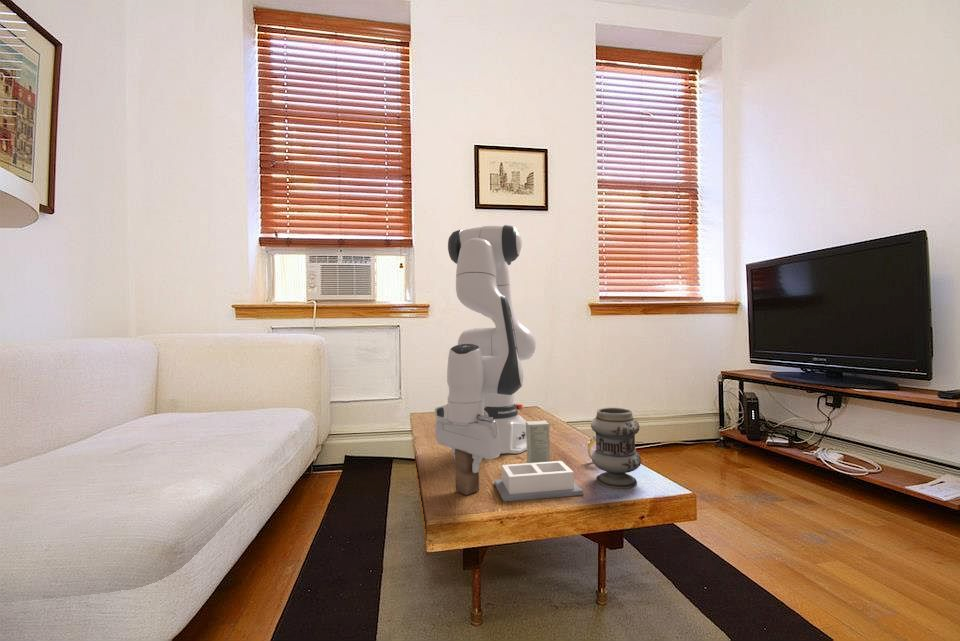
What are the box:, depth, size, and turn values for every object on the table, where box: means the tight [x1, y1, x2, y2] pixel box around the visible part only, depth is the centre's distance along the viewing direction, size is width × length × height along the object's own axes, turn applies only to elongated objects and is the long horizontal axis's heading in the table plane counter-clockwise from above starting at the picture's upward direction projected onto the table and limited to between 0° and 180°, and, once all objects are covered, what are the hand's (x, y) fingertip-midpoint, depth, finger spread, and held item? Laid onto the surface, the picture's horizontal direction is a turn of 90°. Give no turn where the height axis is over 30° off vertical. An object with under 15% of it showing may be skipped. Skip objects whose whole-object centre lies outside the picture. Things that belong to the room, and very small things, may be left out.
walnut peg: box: [454, 449, 480, 496], centre depth 103 cm, size 4×4×10 cm
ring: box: [586, 433, 596, 460], centre depth 123 cm, size 7×3×8 cm, turn 93°
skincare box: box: [526, 420, 551, 463], centre depth 122 cm, size 6×4×12 cm
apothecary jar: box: [590, 407, 642, 489], centre depth 108 cm, size 12×12×18 cm
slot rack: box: [493, 460, 584, 502], centre depth 104 cm, size 19×11×5 cm, turn 99°
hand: (467, 469), depth 103 cm, fingers closed on walnut peg, 4 cm apart
